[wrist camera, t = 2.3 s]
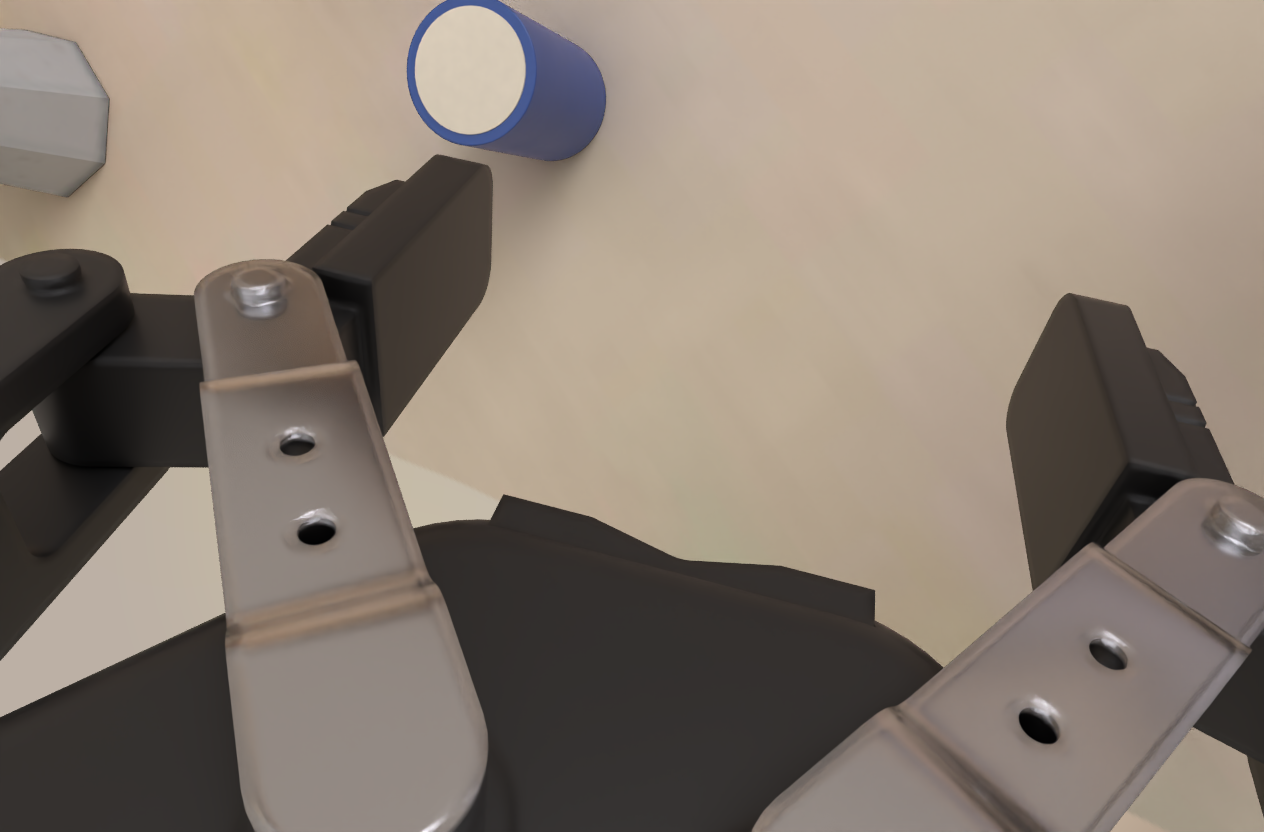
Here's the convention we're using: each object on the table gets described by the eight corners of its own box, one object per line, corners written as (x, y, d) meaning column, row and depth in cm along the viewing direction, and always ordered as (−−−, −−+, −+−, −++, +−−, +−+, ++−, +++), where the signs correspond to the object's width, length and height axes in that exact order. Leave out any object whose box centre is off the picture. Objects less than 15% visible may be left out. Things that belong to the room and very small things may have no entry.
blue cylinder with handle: (574, -97, 37) (492, -180, 30) (615, 148, 39) (547, 129, 31) (466, -63, 39) (362, -133, 31) (509, 171, 40) (421, 158, 33)
